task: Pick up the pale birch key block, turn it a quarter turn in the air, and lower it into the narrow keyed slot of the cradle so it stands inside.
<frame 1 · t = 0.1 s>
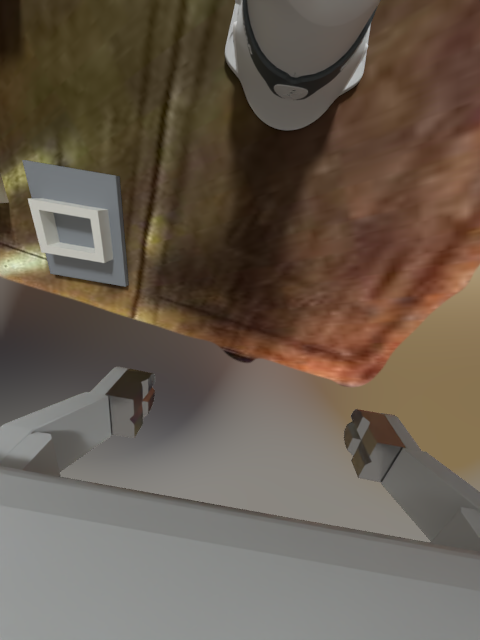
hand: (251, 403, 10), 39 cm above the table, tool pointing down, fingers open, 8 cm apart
cradle: (83, 229, 46), on the table
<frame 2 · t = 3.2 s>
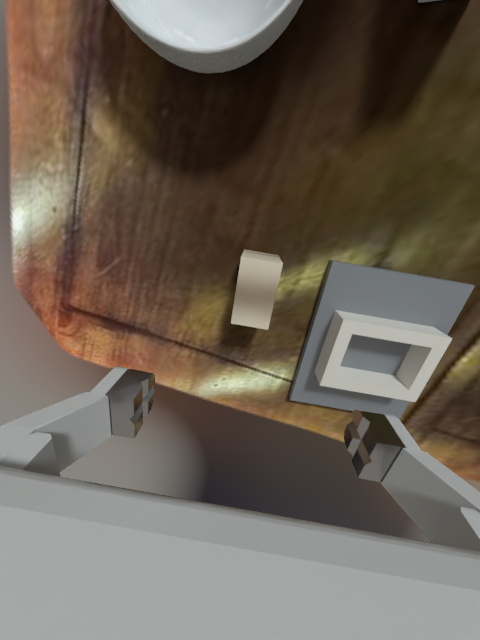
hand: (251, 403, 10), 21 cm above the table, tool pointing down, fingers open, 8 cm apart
key block: (255, 281, 29), on the table
cradle: (366, 345, 31), on the table
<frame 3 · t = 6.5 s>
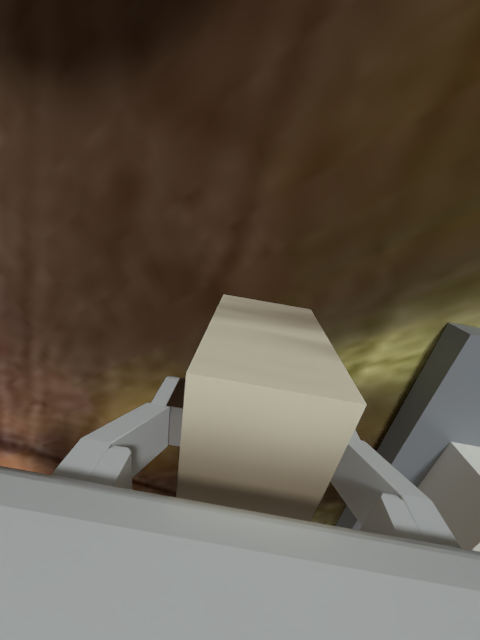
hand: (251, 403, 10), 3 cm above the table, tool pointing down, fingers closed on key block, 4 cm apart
key block: (253, 366, 12), on the table, touching gripper
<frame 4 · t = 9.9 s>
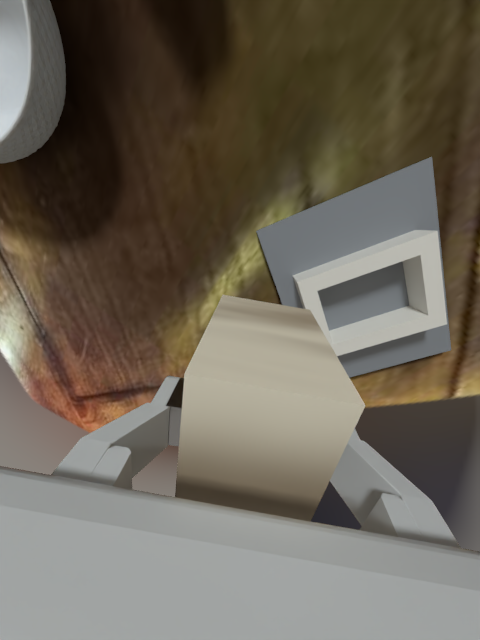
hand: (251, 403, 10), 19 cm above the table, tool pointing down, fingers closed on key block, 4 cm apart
key block: (252, 366, 12), point 16 cm above the table, touching gripper
cradle: (355, 291, 26), on the table
cereal bowl: (5, 68, 21), on the table
when the fingers open (5 cm above the table, at t = 13.6 s): key block drops 1 cm, resting on cradle.
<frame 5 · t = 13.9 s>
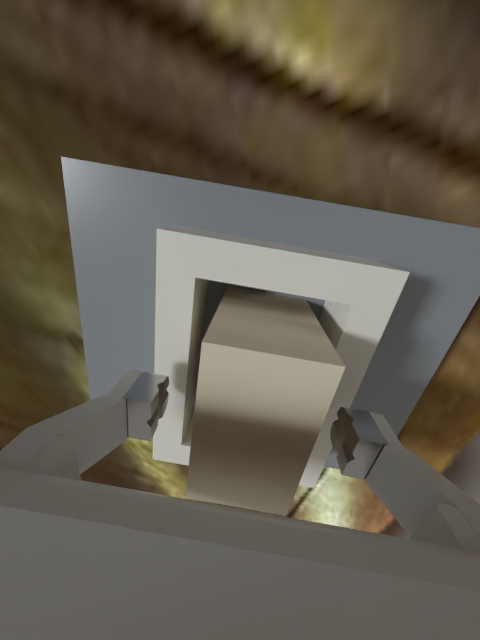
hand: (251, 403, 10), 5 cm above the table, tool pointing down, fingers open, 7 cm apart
key block: (254, 351, 13), point 1 cm above the table, touching cradle
cradle: (254, 342, 14), on the table
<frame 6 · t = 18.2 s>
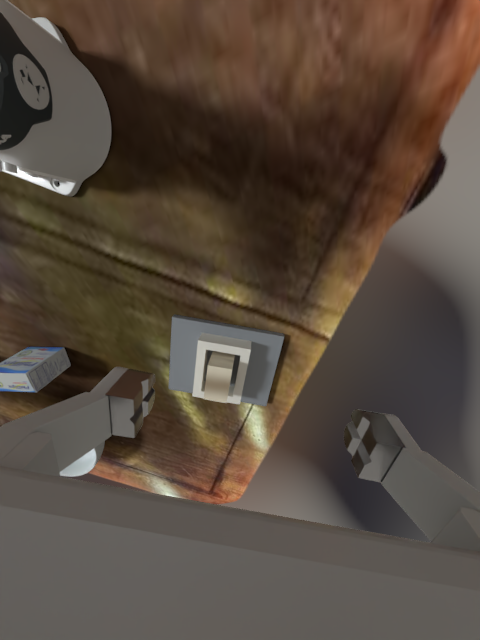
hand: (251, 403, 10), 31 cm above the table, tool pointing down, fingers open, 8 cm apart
key block: (222, 364, 45), point 1 cm above the table, touching cradle
cradle: (223, 361, 46), on the table
cereal bowl: (80, 423, 56), on the table
medicine box: (51, 355, 48), on the table
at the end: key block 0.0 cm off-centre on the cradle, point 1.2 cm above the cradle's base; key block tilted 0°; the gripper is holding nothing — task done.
